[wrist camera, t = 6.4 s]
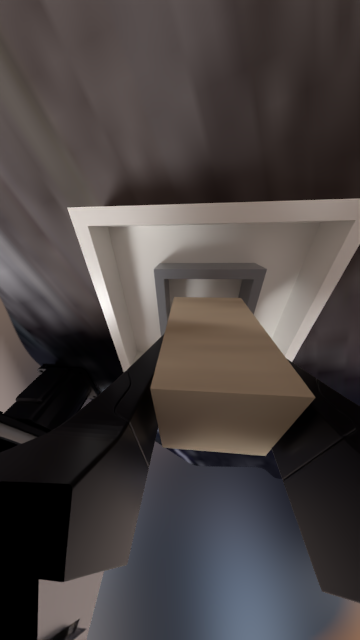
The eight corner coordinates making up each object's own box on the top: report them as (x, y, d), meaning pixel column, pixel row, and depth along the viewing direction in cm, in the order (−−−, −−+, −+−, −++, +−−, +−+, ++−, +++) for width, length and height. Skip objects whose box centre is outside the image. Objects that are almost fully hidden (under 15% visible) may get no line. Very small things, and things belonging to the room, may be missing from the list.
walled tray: (266, 356, 16) (281, 380, 13) (134, 351, 17) (123, 372, 14) (330, 207, 9) (386, 197, 6) (99, 213, 10) (67, 207, 7)
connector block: (229, 348, 11) (265, 455, 6) (176, 346, 11) (162, 447, 6) (241, 297, 8) (315, 397, 3) (174, 297, 9) (150, 388, 4)
